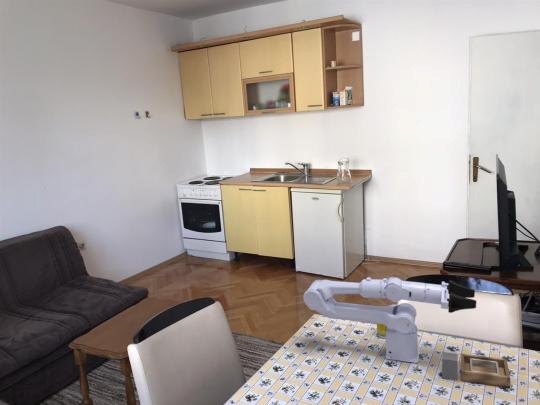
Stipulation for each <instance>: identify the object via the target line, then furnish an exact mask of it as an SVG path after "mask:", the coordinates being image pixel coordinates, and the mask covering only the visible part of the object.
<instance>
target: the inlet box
mask: <svg viewBox="0 0 540 405" xmlns="http://www.w3.org/2000/svg"><path fill="white" fill-rule="evenodd" d="M460 370H461V371H460V372H461V374H460V376H461V382H464V383H471V384H472V383H473V384H477V385H478V384H479V385H486V386H491V387H492V386H493V387H497V388H498V387H499V388H506V389H511V375H510V370H509V365H508V359H506V358H502V357H493V356H492V357H491V356H485V355H476V354H468V353H460Z"/></svg>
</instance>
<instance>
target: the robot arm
mask: <svg viewBox="0 0 540 405" xmlns="http://www.w3.org/2000/svg"><path fill="white" fill-rule="evenodd" d="M475 292H476V291H475V289H472V288H469V287H466V286H463V285H461V284H458V282H455V281H454V280H448V283H447V282H445V281H441V284H435V283H425V282H418V281H408V280H402V279H401V278H399V277H397V276H391V277H388V278H382V279H377V278H376V279H372V277H371V276H370V277H368V276H367V277H366V279H365V278H364V279H362V280H361V281H360V282H354V281H353V282H352V281H350V282H349V281H341V280H340V281H339V280H329V279H315V280H314V281H313V282H311V284H310V286H309V287H308V289H307V290H305V291H304V293H303V296H302V297H303V301H304V303H305V305H306V306H307V308H308V309H309V310H310V311H316V312H317V313H319V314H320V315H323V317H326V318H327V319H334V320H341V321H343V320H344V321H351V322H360V323H368V324H369V323H370V324H376V325H377V324H384V325H385V326H387V329H386V338H385V359H386V360H393V361H400V362H405V363H407V362H409V363H412V364H413V363H414V364H418V363H419V358H420V352H421V349H420V348H418V326H417V325H416V317H417V309H416V308H415V306H414V305H412V304H411V303H409V302H401V303H399V304H390V305H387V306H382V305H381V306H380V305H379V306H378V305H368V304H359V303H351V302H350V303H348V302H339V301H336V300H335V298H334V297H333V296H335V295H360V296H361V297H363V298H365V299H366V298H367V299H386V298H387V299H388V300H390V301H392V303H397V302H400V301H411V302H418V303H423V304H424V303H426V304H432V305H433V304H434V305H440V308H441V309H445V310H448V313H449V314H451V313H452V314H453V313H454V312H458V311H462V310H474V309H477V300H475V299H473V298H475V297H476V296H475V294H476V293H475Z"/></svg>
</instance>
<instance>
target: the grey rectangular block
mask: <svg viewBox="0 0 540 405" xmlns="http://www.w3.org/2000/svg"><path fill="white" fill-rule="evenodd" d="M441 359H442V360H441V364H442V366H441V368H442V369H441V379H444V380H449V381H457V382H458V380H459V379H458V378H459V377H458V369H459V367H458V362H459V360H458V359H459V358H458V353H453V352H444V351H442V356H441Z"/></svg>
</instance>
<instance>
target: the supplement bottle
mask: <svg viewBox="0 0 540 405" xmlns="http://www.w3.org/2000/svg"><path fill="white" fill-rule="evenodd" d="M386 329H387V326H385V325H384V324H377V323H376V333H377V334H376V335H377V336H378V338H379V337H380V338H381V339H386Z"/></svg>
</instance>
